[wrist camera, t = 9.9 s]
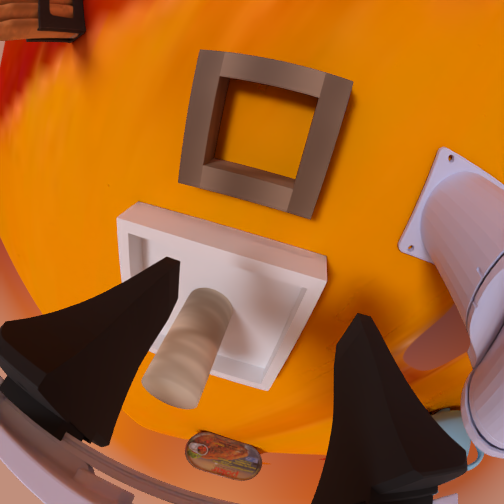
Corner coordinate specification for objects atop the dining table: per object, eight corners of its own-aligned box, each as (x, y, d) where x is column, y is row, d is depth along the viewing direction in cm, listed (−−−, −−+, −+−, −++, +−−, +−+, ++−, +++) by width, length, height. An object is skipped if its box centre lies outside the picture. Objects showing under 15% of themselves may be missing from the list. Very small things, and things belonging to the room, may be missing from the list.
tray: (326, 256, 20) (327, 281, 17) (272, 368, 28) (268, 391, 25) (138, 201, 20) (116, 217, 18) (143, 324, 29) (131, 343, 26)
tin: (266, 449, 44) (257, 485, 37) (259, 451, 46) (251, 485, 39) (194, 425, 44) (180, 461, 37) (191, 428, 45) (177, 463, 38)
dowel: (232, 292, 22) (193, 387, 14) (233, 326, 24) (201, 414, 17) (185, 283, 22) (134, 369, 15) (191, 317, 25) (150, 398, 17)
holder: (348, 83, 13) (353, 81, 12) (310, 206, 18) (310, 219, 16) (212, 53, 14) (199, 49, 12) (190, 173, 18) (178, 182, 17)
